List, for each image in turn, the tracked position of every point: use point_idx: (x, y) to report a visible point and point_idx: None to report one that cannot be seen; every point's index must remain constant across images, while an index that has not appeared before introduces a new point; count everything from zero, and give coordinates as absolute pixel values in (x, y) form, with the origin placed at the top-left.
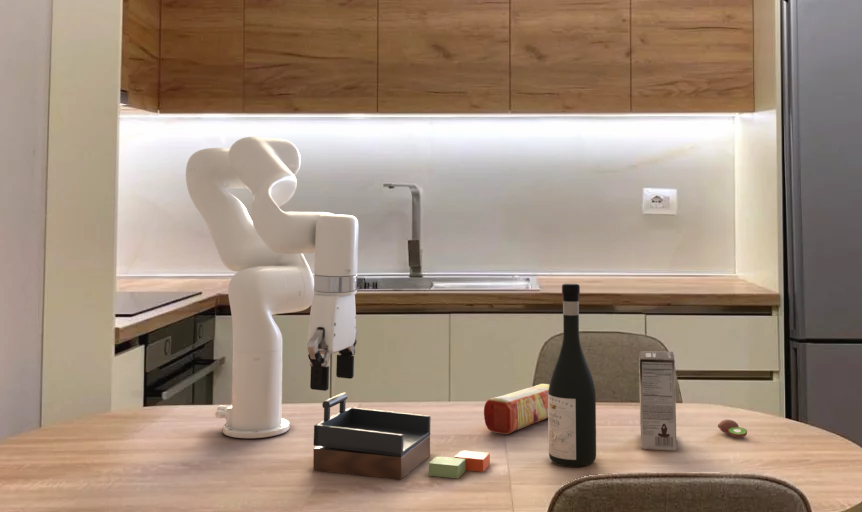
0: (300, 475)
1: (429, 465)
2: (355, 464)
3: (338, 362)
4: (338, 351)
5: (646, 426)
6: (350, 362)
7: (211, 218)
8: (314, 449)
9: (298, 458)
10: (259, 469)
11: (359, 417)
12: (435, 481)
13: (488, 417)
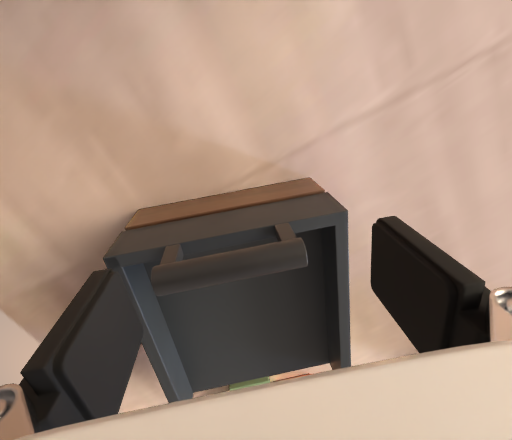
0: (97, 207)
1: (229, 386)
2: None
3: (418, 270)
4: (489, 313)
5: None
6: (414, 341)
7: None
8: (125, 229)
9: (188, 121)
10: (61, 90)
11: (327, 238)
12: None
13: None
